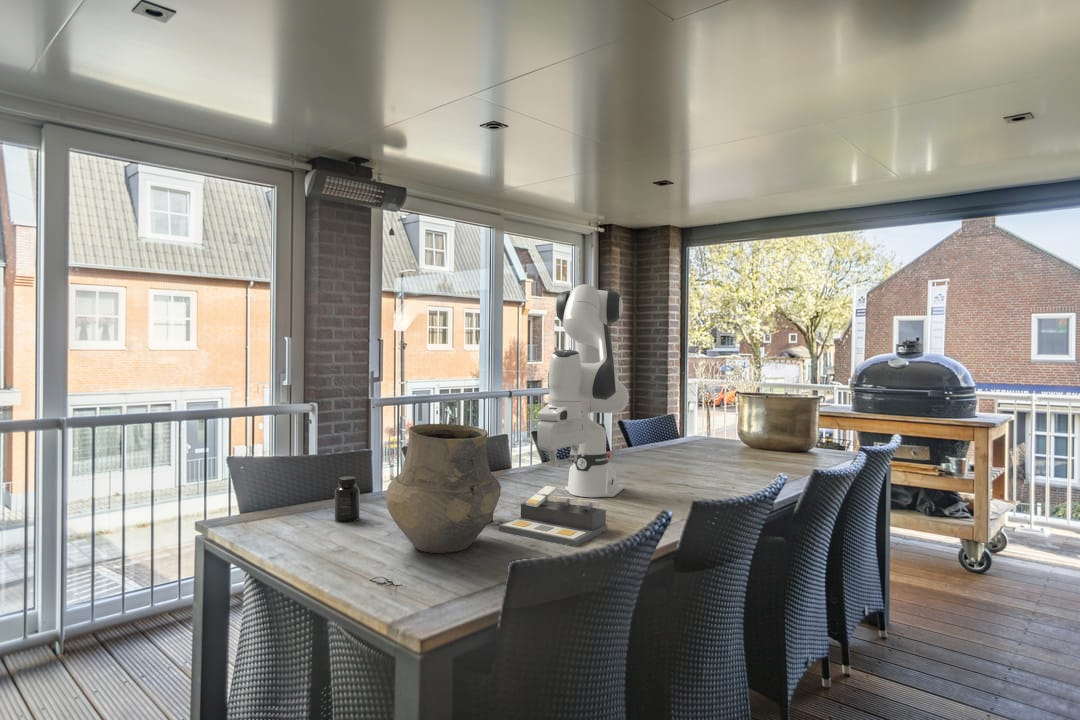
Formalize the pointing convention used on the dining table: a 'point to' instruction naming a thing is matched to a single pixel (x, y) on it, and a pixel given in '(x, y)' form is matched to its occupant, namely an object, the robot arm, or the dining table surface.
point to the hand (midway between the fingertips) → (563, 463)
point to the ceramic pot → (443, 488)
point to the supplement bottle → (347, 500)
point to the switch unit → (557, 523)
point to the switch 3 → (584, 504)
